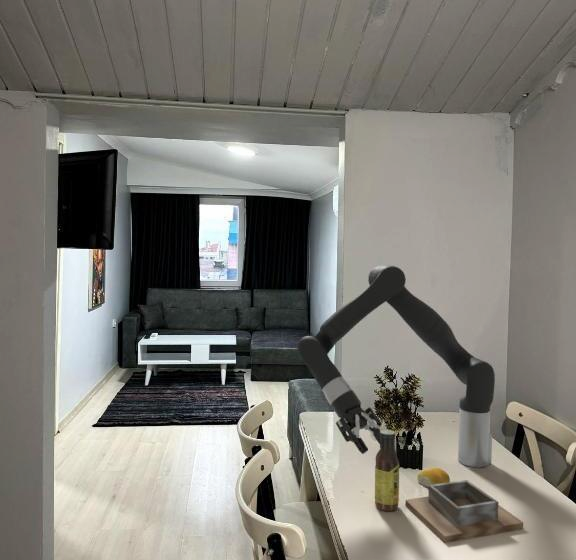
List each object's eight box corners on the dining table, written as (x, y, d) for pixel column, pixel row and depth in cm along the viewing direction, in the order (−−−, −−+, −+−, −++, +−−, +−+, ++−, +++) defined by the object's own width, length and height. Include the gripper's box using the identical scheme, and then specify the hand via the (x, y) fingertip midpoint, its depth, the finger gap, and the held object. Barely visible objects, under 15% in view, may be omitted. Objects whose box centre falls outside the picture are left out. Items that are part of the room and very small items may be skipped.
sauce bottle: (398, 513, 131) (400, 437, 130) (374, 511, 133) (375, 435, 131) (398, 501, 138) (399, 429, 137) (374, 499, 139) (376, 427, 138)
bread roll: (455, 484, 149) (455, 470, 148) (434, 492, 144) (434, 478, 143) (432, 473, 156) (433, 460, 155) (412, 480, 151) (412, 467, 150)
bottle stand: (476, 494, 142) (476, 473, 142) (523, 528, 125) (524, 504, 124) (405, 505, 136) (405, 483, 135) (444, 542, 118) (445, 517, 118)
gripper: (333, 394, 137) (367, 448, 130) (364, 384, 147) (397, 433, 140) (317, 409, 141) (350, 462, 134) (348, 399, 151) (381, 447, 144)
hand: (374, 447), depth 137 cm, fingers open, 8 cm apart
